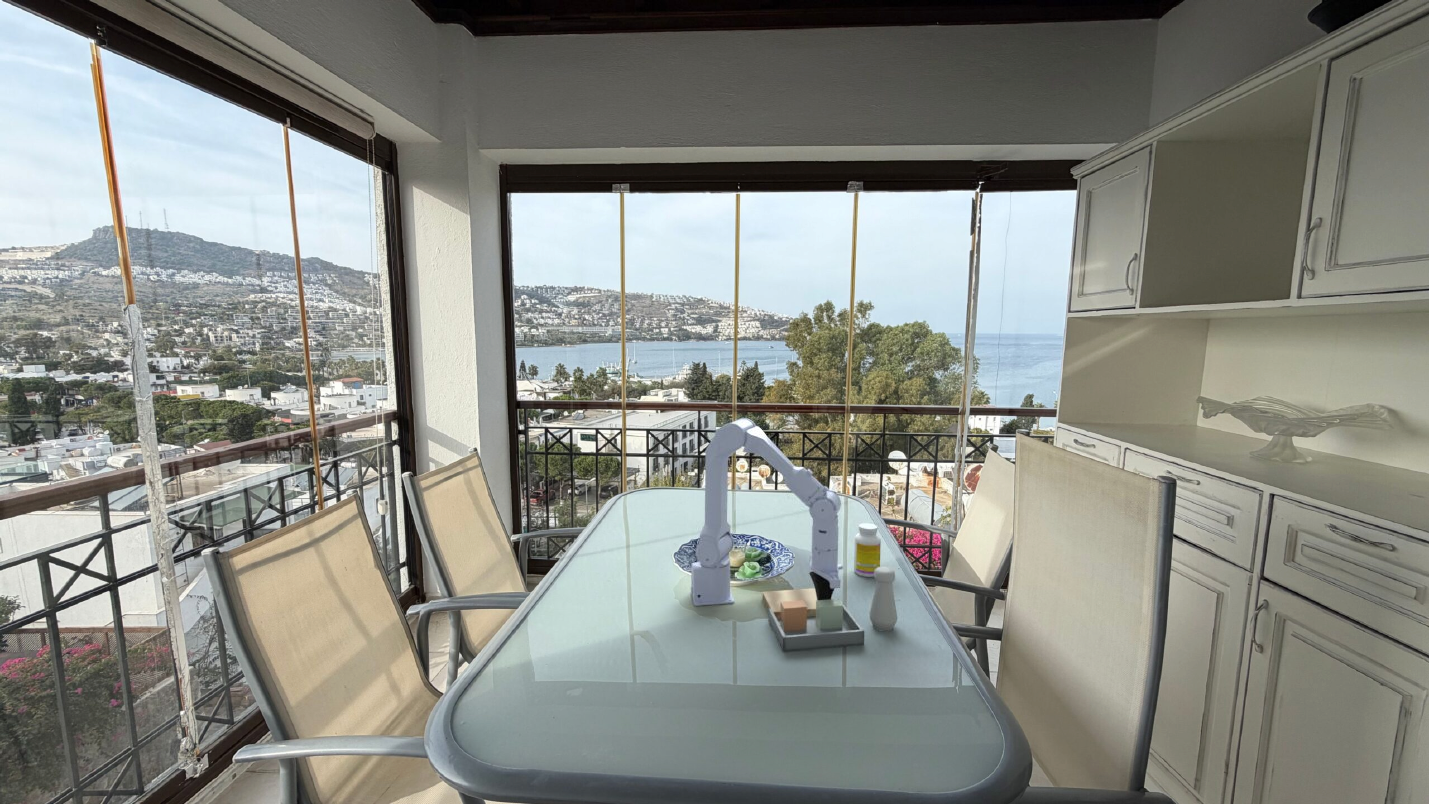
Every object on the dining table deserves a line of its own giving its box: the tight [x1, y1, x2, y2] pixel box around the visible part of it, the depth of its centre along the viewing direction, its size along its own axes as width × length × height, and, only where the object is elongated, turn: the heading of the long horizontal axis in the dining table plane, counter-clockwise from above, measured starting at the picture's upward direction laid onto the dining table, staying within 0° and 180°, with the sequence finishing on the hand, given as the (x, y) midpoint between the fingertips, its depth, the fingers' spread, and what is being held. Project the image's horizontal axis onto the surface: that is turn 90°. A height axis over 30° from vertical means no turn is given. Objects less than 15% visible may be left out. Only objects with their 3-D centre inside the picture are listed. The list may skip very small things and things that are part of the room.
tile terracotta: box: [780, 600, 807, 631], centre depth 119 cm, size 5×5×3 cm
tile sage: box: [816, 598, 843, 629], centre depth 120 cm, size 5×5×3 cm
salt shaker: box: [869, 566, 898, 632], centre depth 120 cm, size 6×6×13 cm
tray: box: [768, 602, 865, 653], centre depth 118 cm, size 17×12×3 cm
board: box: [762, 587, 832, 619], centre depth 129 cm, size 15×10×2 cm, turn 98°
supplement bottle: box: [853, 523, 882, 578], centre depth 147 cm, size 7×7×13 cm
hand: (823, 605), depth 124 cm, fingers closed
